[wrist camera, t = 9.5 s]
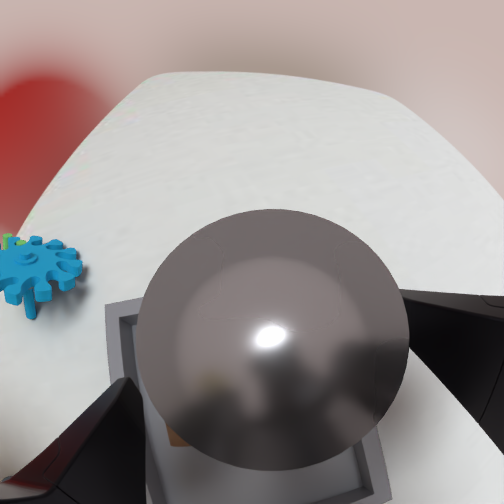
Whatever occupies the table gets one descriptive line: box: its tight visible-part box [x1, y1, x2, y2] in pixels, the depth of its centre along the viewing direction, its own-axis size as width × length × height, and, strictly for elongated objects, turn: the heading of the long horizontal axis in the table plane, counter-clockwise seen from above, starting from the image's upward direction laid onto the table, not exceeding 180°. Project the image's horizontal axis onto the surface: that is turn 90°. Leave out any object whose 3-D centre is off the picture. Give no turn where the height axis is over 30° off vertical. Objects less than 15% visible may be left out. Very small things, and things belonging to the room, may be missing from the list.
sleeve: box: [136, 209, 409, 471], centre depth 10 cm, size 5×5×13 cm
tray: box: [105, 297, 392, 504], centre depth 14 cm, size 16×14×3 cm
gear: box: [0, 233, 82, 319], centre depth 17 cm, size 11×6×10 cm
